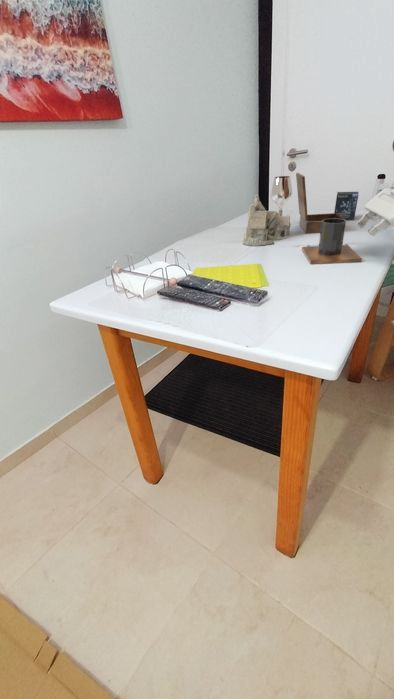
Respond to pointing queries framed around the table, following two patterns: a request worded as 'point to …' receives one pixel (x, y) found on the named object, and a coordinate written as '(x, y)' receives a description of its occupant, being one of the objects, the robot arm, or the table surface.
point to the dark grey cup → (331, 236)
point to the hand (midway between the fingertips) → (364, 229)
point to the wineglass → (281, 190)
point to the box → (346, 204)
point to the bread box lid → (302, 196)
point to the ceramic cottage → (265, 225)
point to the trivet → (331, 256)
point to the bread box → (316, 222)
